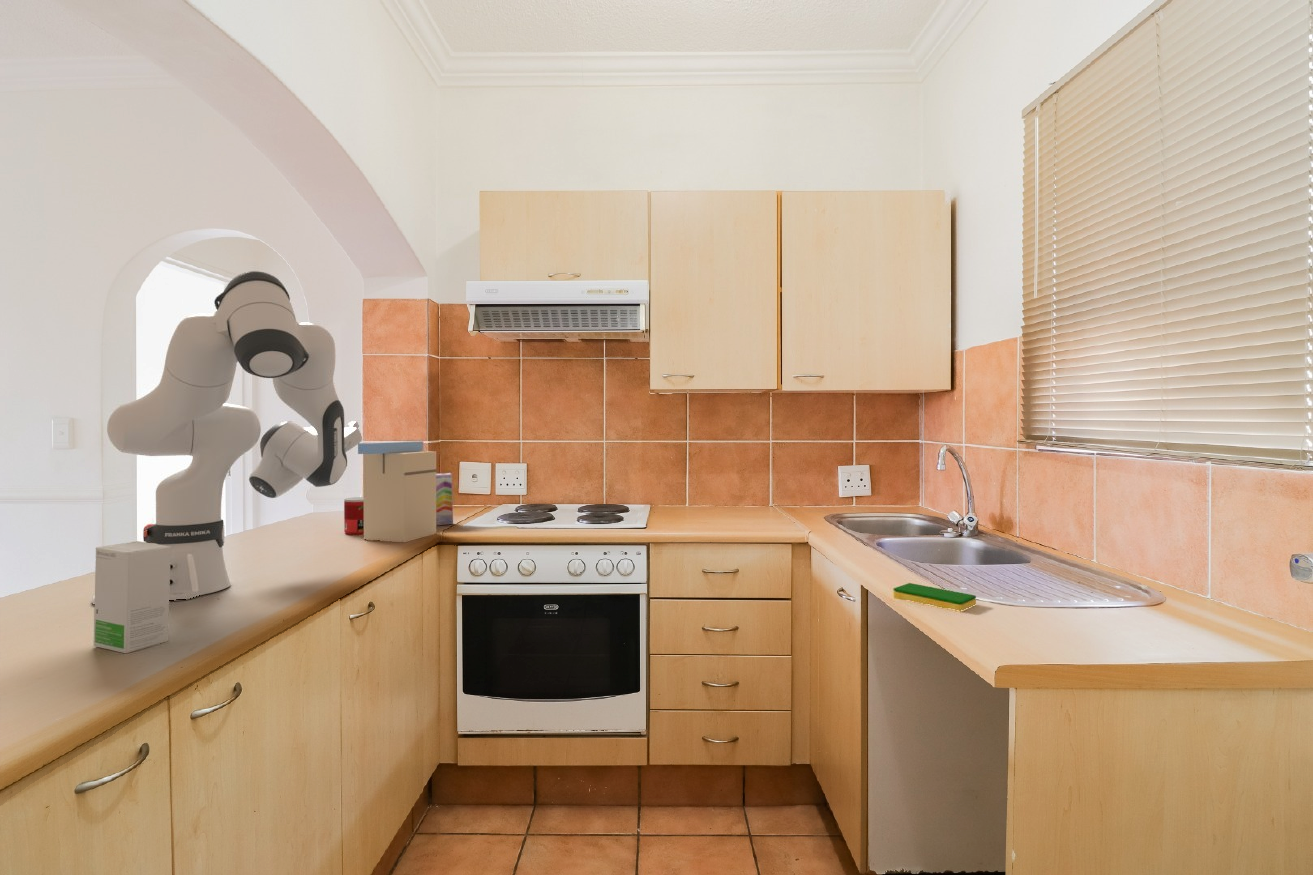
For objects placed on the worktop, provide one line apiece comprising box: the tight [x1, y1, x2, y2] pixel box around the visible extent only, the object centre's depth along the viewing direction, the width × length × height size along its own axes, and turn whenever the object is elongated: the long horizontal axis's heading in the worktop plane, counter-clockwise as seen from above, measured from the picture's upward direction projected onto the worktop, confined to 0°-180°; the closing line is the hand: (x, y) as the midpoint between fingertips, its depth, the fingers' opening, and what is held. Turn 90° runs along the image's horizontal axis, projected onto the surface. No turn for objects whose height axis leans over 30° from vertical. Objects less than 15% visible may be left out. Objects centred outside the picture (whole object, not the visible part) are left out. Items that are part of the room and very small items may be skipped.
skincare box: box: [93, 541, 171, 654], centre depth 103 cm, size 8×7×16 cm
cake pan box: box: [436, 472, 454, 526], centre depth 223 cm, size 19×5×18 cm, turn 111°
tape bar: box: [357, 440, 424, 455], centre depth 197 cm, size 25×4×3 cm, turn 165°
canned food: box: [343, 496, 364, 536], centre depth 207 cm, size 8×8×11 cm
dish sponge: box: [892, 582, 977, 611], centre depth 131 cm, size 7×14×2 cm, turn 42°
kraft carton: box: [362, 450, 437, 543], centre depth 201 cm, size 16×14×26 cm
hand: (341, 423), depth 176 cm, fingers open, 8 cm apart
